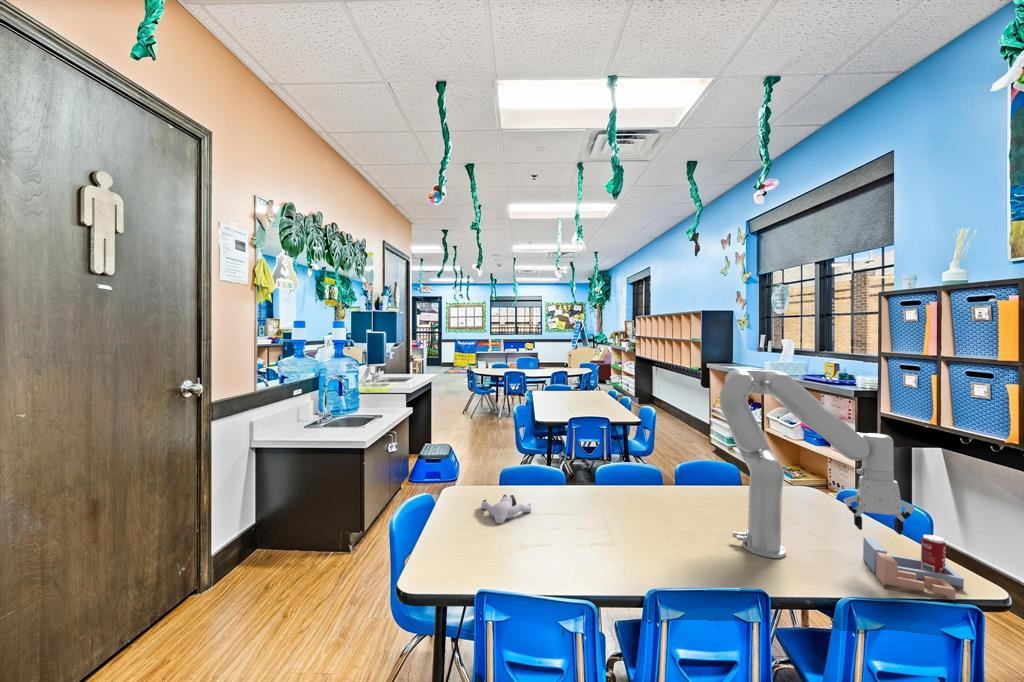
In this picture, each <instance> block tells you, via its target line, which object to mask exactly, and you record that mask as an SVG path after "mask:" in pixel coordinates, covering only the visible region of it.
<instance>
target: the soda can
mask: <svg viewBox="0 0 1024 682" xmlns="http://www.w3.org/2000/svg"><path fill="white" fill-rule="evenodd" d="M920 545H921V548H920V549H921V551H920V552H921V553H920V560H921V570H924V571H929V572H935V573H941V574H945V564H946V556H947V555H946V549H947V545H946V543H945V539H944V538H943V537H940V536H937V535H934V534H933V535H932V534H923V537H922V538H921V544H920Z"/></svg>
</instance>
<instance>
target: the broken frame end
mask: <svg viewBox="0 0 1024 682" xmlns="http://www.w3.org/2000/svg"><path fill="white" fill-rule="evenodd" d="M924 583H925V589H931V593H936V594H941V595H946V596H947V600H953V601H956V590H955V589H954V588H953V587H952V586H951V585H950V584H949V583H948V582H947V581H945V580H944V579H939V578H934V577H928V576H924Z"/></svg>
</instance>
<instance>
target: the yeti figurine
mask: <svg viewBox="0 0 1024 682" xmlns="http://www.w3.org/2000/svg"><path fill="white" fill-rule="evenodd" d="M481 508H482V509H483V510H486V511H487V512H488V514H489V515H490V516H491V517H494V521H495V523H496V524H498V525H499V524H500V525H501V524H504V522H505V520H508V519H511V518H513V517H514V516H515V515H517V514H519V513H520V512H522V513H524V514H526V513H527V514H530V513H531V512H532V505H531V503H527V504H523V503H520V504H517V499H516V498H515V495H513V494H511V495H509V497H508V496H507V494H503V496H502V497H501V499H500V500H499V502H497V503H496V504H494V505H493V504H491V503H490V502H489V501H487V499H484V500H482V502H481Z"/></svg>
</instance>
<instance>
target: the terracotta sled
mask: <svg viewBox="0 0 1024 682" xmlns="http://www.w3.org/2000/svg"><path fill="white" fill-rule="evenodd" d="M891 555H892V554H890V553H887V554H884V553H878V552H877V568H876V573H875V576H876V578H878V580H879V581H880V583H881V584H882V585H883V586H884V585H885V584H887V585H893V586H898V587H903V588H909V589H914V590H920V591H925V589H926V587H925V583H924V582H923V581H918V580H917V575H916V574H915V573H911V572H905V571H899V570H898V563H897V562H896V561H895V560H894V559H893V558H892V556H891Z"/></svg>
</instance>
